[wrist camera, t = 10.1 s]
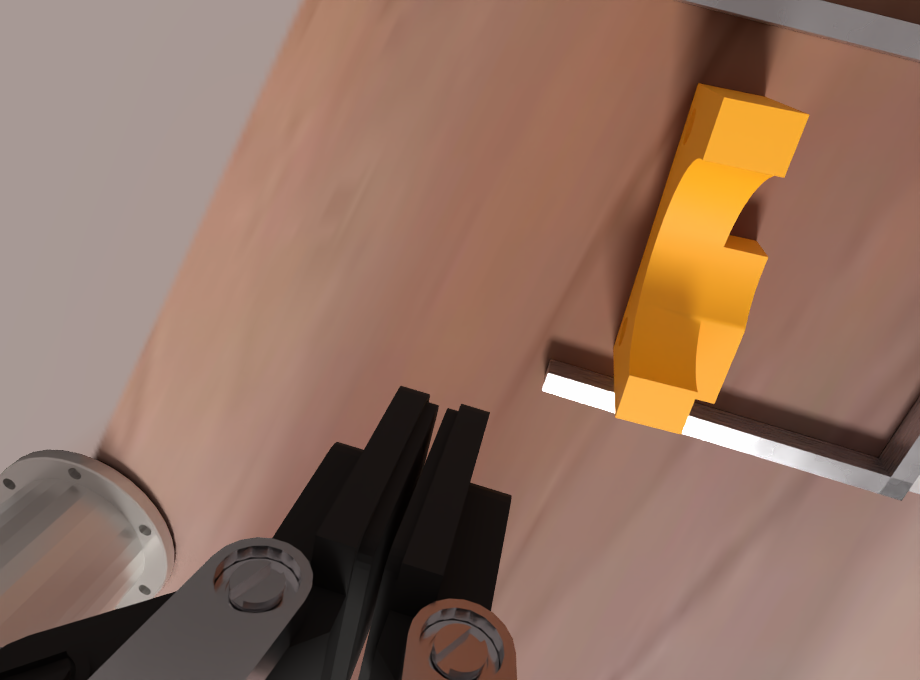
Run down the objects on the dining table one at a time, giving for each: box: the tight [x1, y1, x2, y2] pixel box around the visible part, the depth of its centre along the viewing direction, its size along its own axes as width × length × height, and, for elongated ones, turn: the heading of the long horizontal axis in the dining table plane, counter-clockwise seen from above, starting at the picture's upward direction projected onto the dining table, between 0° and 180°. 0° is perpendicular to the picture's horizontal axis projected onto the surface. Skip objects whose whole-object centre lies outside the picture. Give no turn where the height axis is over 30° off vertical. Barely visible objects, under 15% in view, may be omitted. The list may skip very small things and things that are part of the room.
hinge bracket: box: [542, 0, 920, 501], centre depth 27 cm, size 18×21×2 cm
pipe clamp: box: [613, 83, 809, 434], centre depth 26 cm, size 12×4×6 cm, turn 170°
